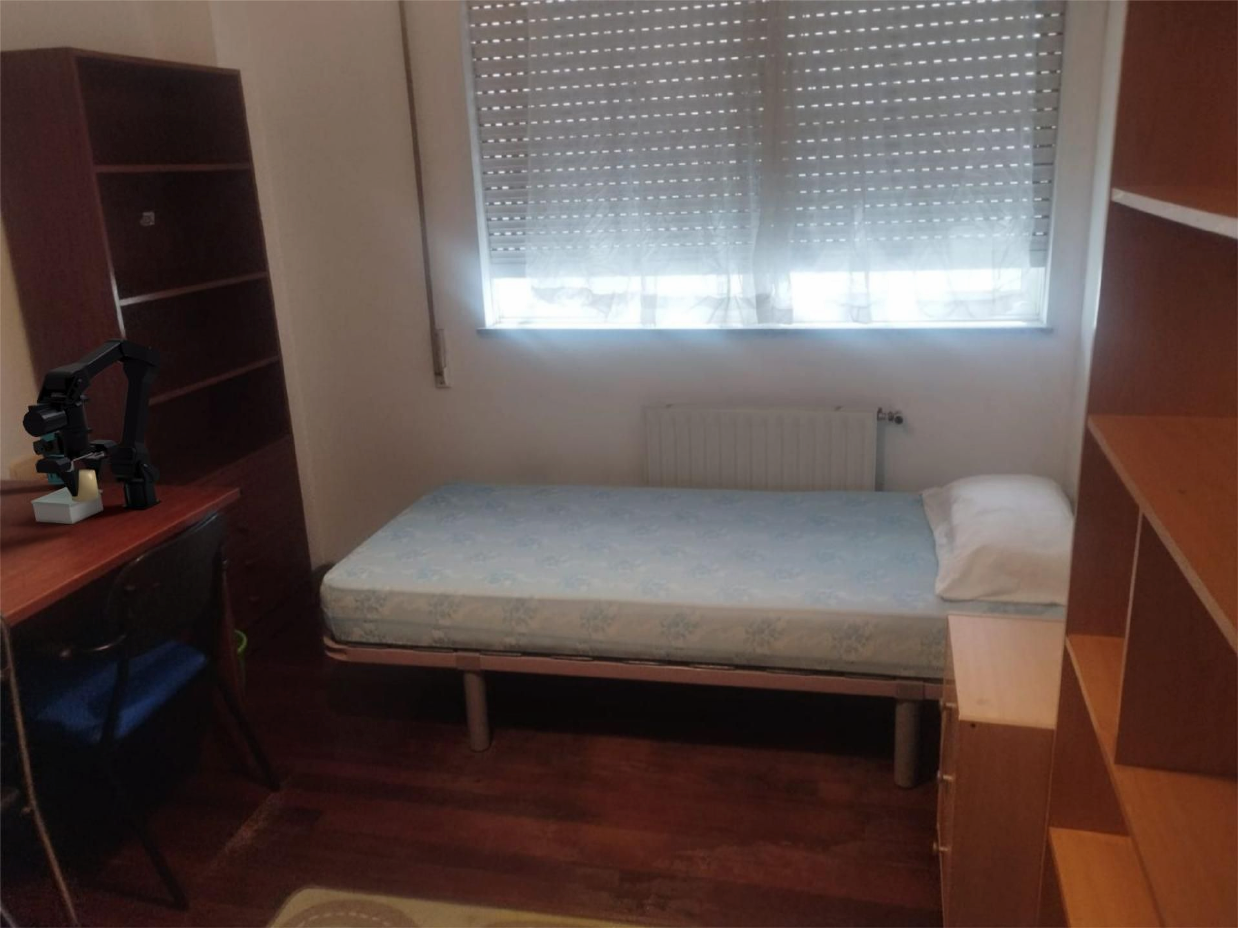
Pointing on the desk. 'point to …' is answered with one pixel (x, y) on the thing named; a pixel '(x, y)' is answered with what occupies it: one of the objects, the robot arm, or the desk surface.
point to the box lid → (57, 498)
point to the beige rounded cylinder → (86, 486)
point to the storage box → (67, 511)
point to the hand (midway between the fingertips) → (84, 492)
